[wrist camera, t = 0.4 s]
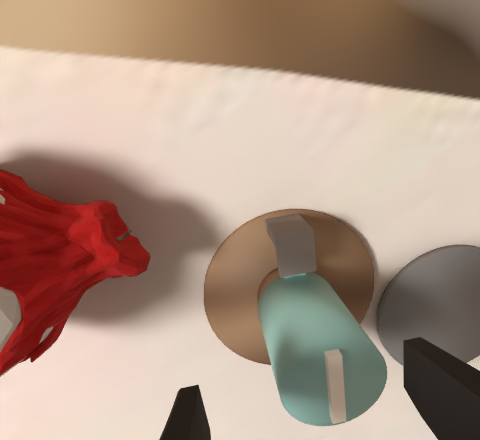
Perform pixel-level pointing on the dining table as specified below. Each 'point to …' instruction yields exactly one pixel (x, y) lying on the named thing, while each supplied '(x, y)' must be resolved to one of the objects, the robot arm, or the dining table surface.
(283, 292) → the kettle
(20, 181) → the multicoloured piece
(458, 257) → the coaster
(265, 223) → the tan wide-brim hat
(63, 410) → the dining table surface
